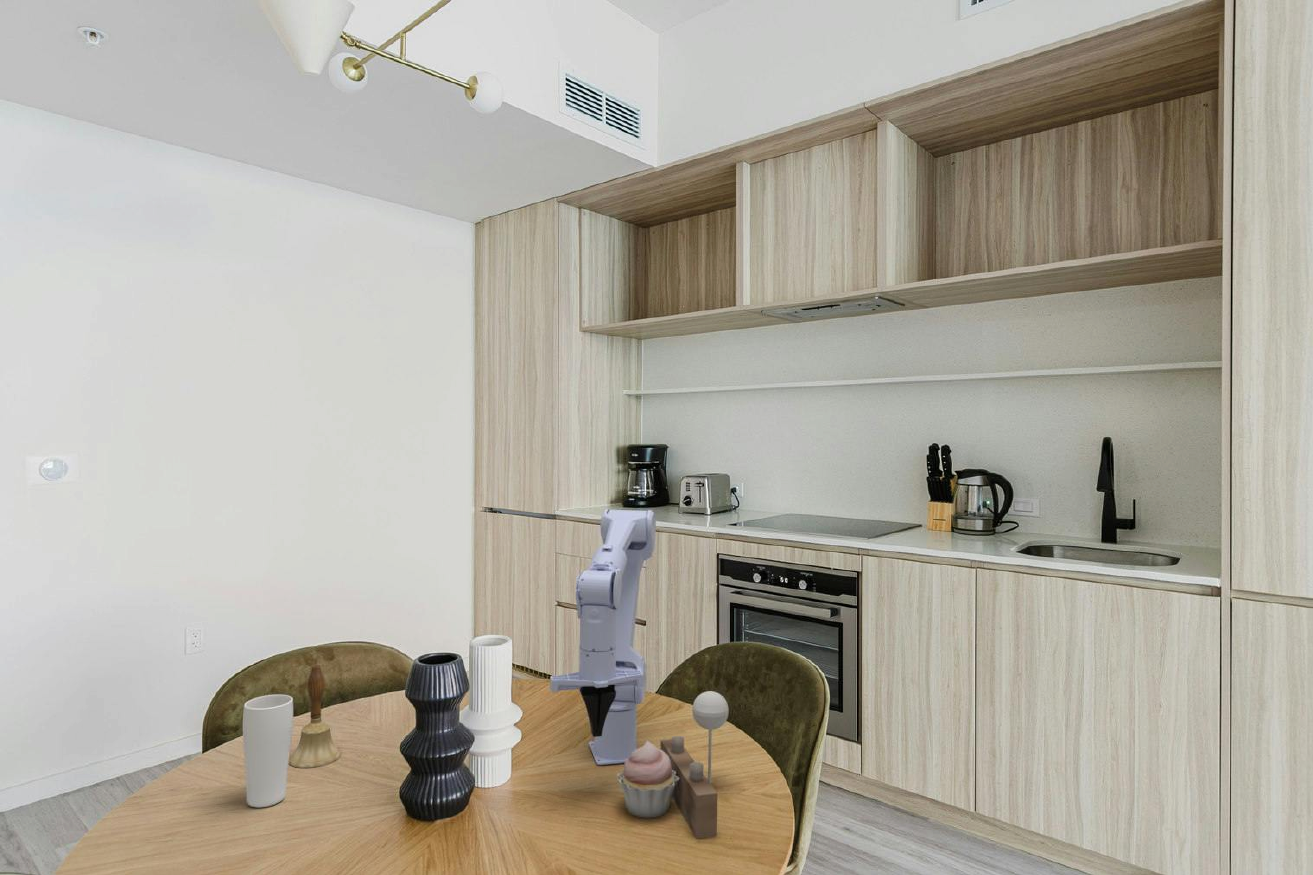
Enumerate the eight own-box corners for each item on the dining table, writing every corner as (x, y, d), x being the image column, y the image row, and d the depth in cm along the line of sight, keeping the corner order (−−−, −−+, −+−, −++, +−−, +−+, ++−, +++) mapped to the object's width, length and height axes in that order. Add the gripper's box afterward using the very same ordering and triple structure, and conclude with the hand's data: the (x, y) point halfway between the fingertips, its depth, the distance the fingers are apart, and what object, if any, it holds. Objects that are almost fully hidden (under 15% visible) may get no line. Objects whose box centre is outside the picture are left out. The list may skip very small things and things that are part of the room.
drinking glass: (301, 794, 113) (303, 697, 113) (264, 815, 106) (267, 711, 107) (267, 787, 115) (270, 691, 115) (229, 807, 109) (232, 705, 109)
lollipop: (725, 796, 114) (726, 699, 115) (688, 792, 116) (689, 696, 116) (729, 778, 120) (730, 687, 121) (694, 775, 122) (695, 684, 122)
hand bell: (333, 767, 123) (335, 671, 123) (281, 769, 122) (283, 673, 122) (346, 747, 131) (348, 657, 131) (297, 749, 130) (299, 659, 130)
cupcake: (662, 789, 116) (663, 726, 117) (688, 816, 108) (689, 748, 108) (607, 800, 112) (608, 735, 113) (630, 829, 104) (631, 758, 104)
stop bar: (659, 776, 121) (660, 727, 121) (677, 774, 122) (678, 726, 122) (696, 838, 102) (697, 781, 102) (716, 836, 102) (717, 778, 103)
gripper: (554, 656, 109) (552, 748, 109) (648, 651, 113) (647, 740, 112) (549, 644, 116) (547, 730, 116) (638, 639, 119) (637, 723, 119)
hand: (596, 734), depth 114 cm, fingers closed
